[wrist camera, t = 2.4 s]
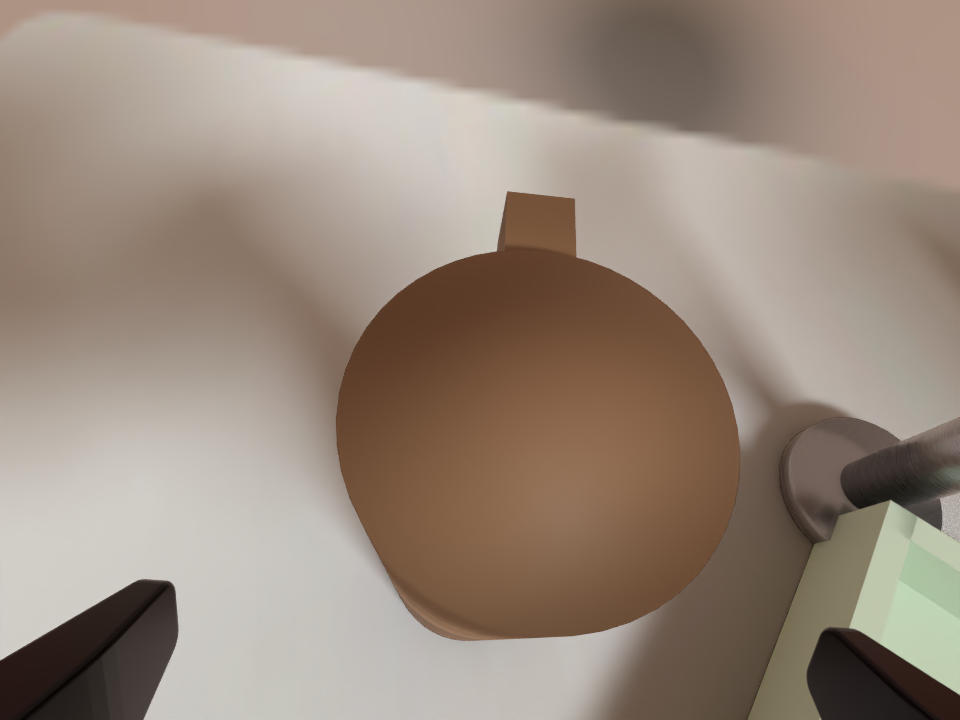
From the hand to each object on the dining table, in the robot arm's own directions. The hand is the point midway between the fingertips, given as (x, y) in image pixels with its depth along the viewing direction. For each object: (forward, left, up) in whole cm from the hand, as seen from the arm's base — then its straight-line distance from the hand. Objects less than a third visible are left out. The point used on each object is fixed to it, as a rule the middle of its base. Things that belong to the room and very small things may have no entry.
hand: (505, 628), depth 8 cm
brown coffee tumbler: (+2, +1, -9) cm, 10 cm away
